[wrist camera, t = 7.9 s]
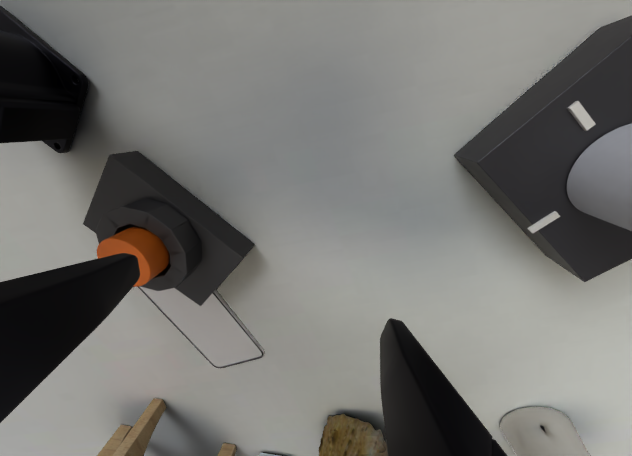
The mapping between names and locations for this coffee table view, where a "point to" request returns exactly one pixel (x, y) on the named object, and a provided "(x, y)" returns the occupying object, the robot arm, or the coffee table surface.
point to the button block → (166, 225)
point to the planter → (144, 435)
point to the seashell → (351, 438)
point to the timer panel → (560, 151)
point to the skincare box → (264, 455)
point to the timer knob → (605, 178)
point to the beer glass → (542, 433)
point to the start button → (138, 251)
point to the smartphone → (208, 327)
